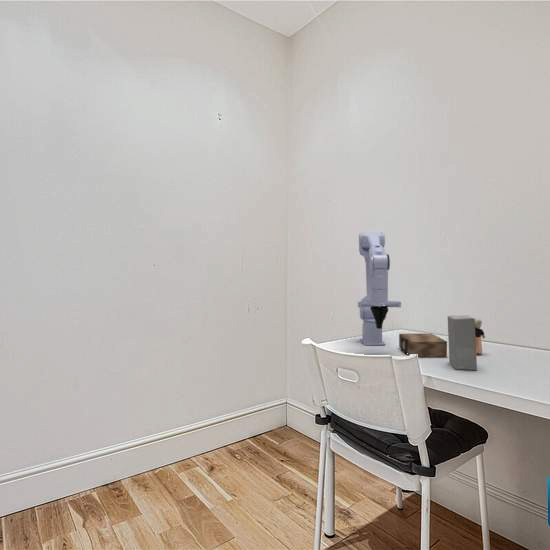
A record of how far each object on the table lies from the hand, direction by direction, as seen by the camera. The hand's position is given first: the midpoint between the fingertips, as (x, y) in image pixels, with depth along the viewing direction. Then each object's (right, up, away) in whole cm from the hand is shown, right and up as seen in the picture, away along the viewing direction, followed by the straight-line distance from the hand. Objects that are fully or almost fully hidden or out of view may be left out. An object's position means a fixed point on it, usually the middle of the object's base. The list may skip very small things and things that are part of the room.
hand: (379, 328), depth 143 cm
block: (+16, -9, +3) cm, 19 cm away
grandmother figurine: (+34, -9, 0) cm, 35 cm away
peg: (+16, -8, +3) cm, 18 cm away
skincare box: (+22, -10, -14) cm, 28 cm away
